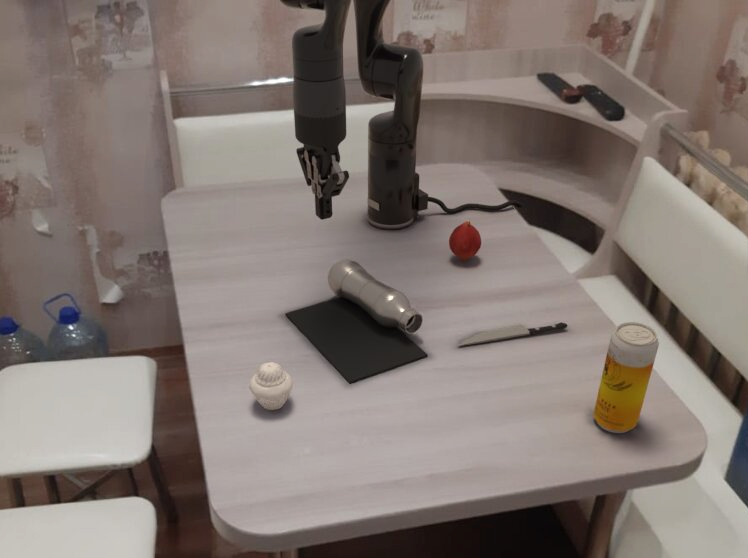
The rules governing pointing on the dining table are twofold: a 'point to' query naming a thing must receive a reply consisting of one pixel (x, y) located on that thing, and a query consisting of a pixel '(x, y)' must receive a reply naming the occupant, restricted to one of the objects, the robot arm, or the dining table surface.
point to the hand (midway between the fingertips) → (324, 216)
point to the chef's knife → (510, 333)
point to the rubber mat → (354, 339)
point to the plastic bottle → (373, 296)
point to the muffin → (271, 386)
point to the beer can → (625, 376)
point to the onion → (465, 241)
